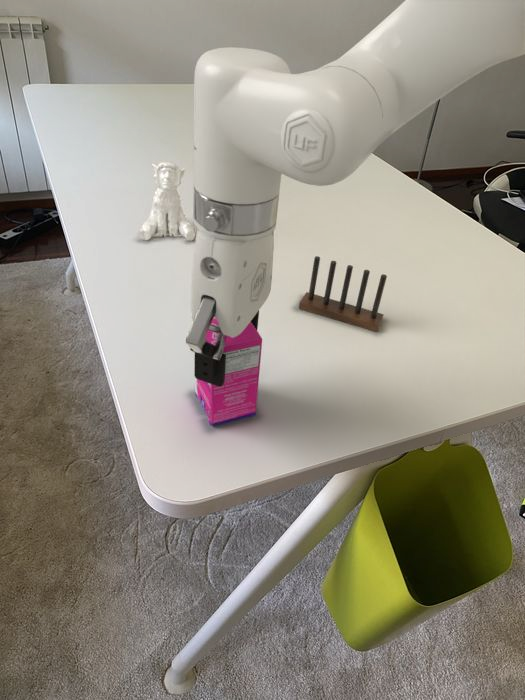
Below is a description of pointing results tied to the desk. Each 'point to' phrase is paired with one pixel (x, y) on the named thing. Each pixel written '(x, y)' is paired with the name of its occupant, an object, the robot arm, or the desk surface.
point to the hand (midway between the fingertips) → (227, 356)
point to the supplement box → (233, 378)
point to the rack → (343, 300)
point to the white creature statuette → (167, 206)
